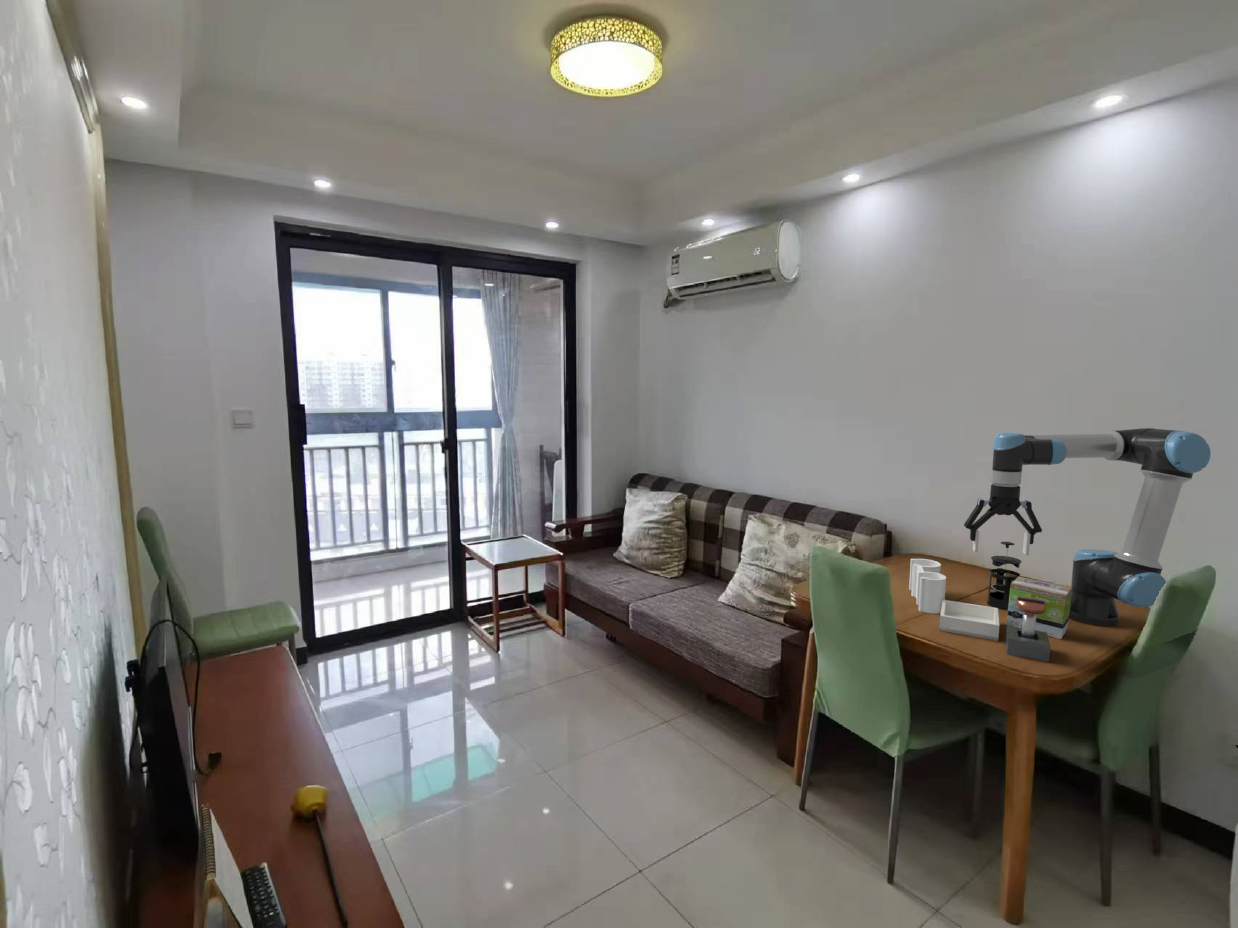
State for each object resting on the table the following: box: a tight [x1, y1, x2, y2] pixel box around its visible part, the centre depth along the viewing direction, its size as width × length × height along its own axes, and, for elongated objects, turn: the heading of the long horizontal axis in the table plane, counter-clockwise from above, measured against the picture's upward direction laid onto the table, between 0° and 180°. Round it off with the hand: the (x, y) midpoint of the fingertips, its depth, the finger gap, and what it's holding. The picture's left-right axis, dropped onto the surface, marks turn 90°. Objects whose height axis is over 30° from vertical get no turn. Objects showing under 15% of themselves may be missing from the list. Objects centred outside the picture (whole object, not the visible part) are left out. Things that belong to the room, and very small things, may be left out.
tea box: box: [1006, 576, 1072, 640], centre depth 191 cm, size 15×10×15 cm, turn 45°
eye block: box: [1005, 625, 1051, 663], centre depth 176 cm, size 10×10×5 cm
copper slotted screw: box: [1016, 597, 1046, 639], centre depth 176 cm, size 7×7×16 cm
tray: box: [938, 599, 1000, 642], centre depth 194 cm, size 16×16×5 cm
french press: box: [986, 541, 1022, 611], centre depth 211 cm, size 12×9×23 cm
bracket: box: [908, 558, 947, 615], centre depth 216 cm, size 25×10×12 cm, turn 160°
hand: (1000, 552), depth 183 cm, fingers open, 13 cm apart
